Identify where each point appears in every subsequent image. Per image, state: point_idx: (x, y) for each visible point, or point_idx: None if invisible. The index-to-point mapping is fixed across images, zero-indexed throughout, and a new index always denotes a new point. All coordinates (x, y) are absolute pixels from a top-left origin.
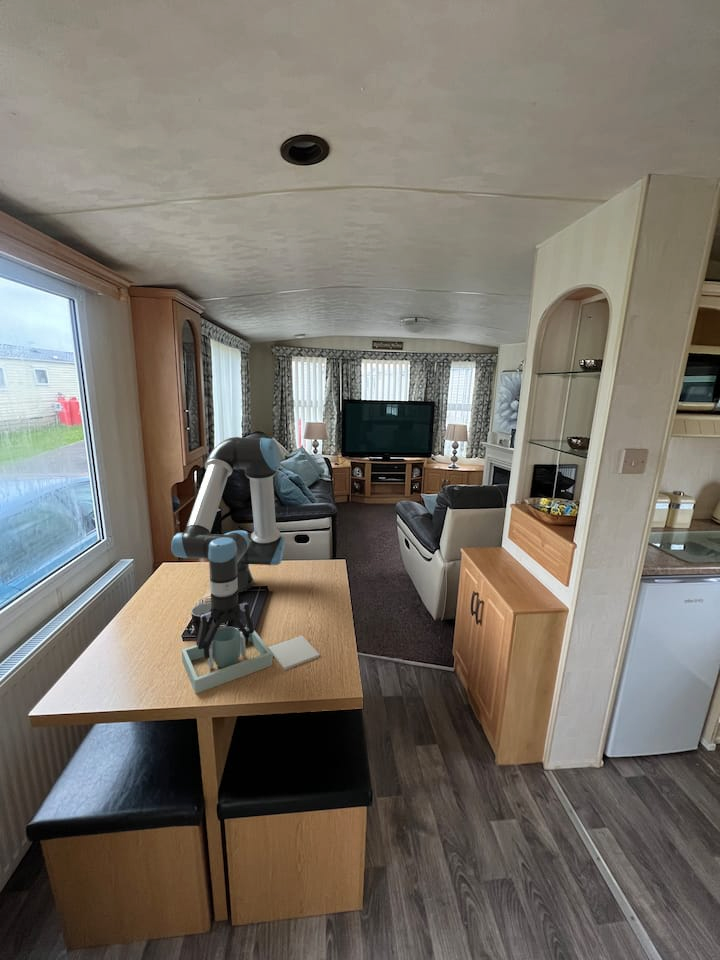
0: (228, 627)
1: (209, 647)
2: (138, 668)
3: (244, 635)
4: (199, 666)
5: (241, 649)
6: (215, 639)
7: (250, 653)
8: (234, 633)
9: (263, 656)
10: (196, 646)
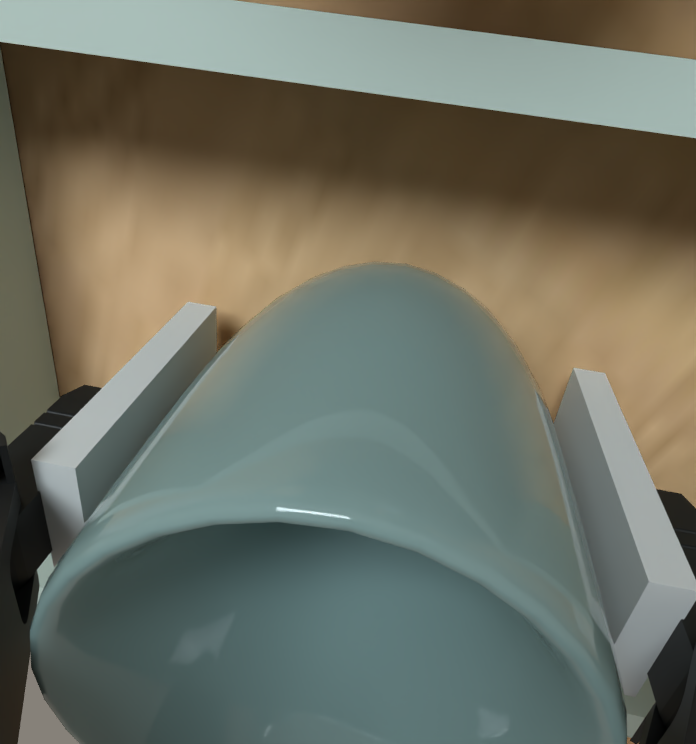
0: (496, 590)
1: (60, 543)
2: None
3: (642, 736)
4: (126, 213)
5: (572, 457)
6: (71, 733)
7: (683, 381)
8: (531, 641)
9: (630, 734)
10: (6, 21)
